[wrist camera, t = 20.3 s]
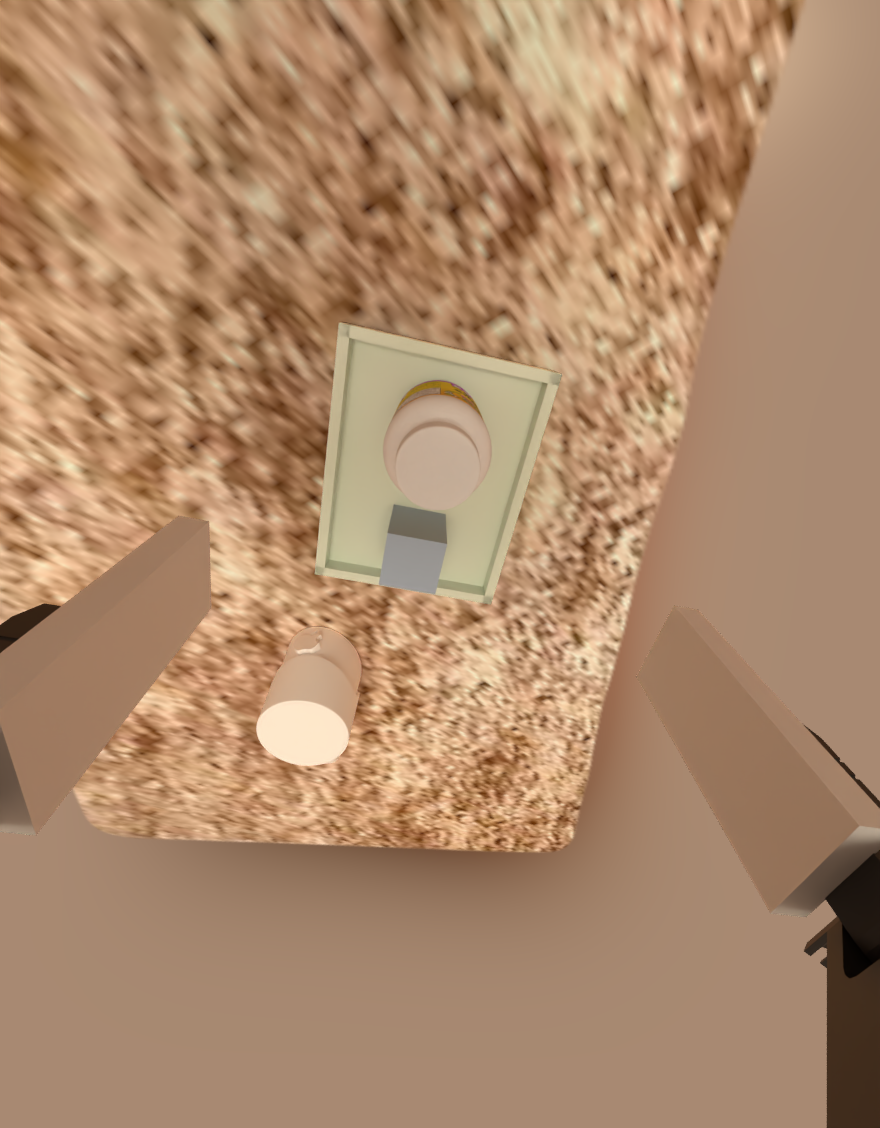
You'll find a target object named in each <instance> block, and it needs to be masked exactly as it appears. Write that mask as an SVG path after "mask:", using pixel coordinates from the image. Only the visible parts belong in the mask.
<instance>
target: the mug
mask: <svg viewBox="0 0 880 1128" xmlns="http://www.w3.org/2000/svg"><path fill="white" fill-rule="evenodd" d="M361 674H362V666H361V661H360V657H359V655H358V653H357V651H356V649H355V647H354V646H353V645H352V643H351V642H350V641H349V640H348V639H347V638H346V637H344V636H343V635H342V634H340V633H338V632H337V631H335V630H332V629H329V628H326V627H309V628H306V629H303V630H301V631H300V632H298V633H297V634H296V635H295V636H294V637H293V639H292V640H291V642H290V644H289V647H288V650H287V653H286V655H285V658H284V661H283V664H282V666H281V667H280V668H279V669H278V671H277V672H276V674H275V676H274V679H273V681H272V684H271V687H270V689H269V692H268V695H267V697H266V700H265V703H264V705H263V708H262V711H261V713H260V716H259V719H258V722H257V727H256V730H257V736H258V738H259V741H260V742H261V744H262V745H263V747H264V748H265V749H266V750H267V751H268V752H270V753H271V754H272V755H274V756H275V757H277V758H279V759H281V760H283V761H286V762H288V763H292V764H296V765H305V766H312V765H320V764H327V763H334V762H336V761H337V760H338V759H339V757H340V755H341V754H342V753H343V751H344V750H345V749H346V747H347V745H348V741H349V737H350V733H351V729H352V724H353V720H354V716H355V712H356V708H357V704H358V699H359V695H360V692H358V691H357V690H358V686H359V683H360V679H361Z"/></svg>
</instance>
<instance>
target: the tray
mask: <svg viewBox="0 0 880 1128" xmlns="http://www.w3.org/2000/svg"><path fill="white" fill-rule="evenodd" d="M561 377H562V374H561V373H558V372H556V371H552V370H548V369H544V368H539V367H535V366H531V365H526V364H522V363H518V362H513V361H509V360H505V359H501V358H496V357H492V356H488V355H483V354H479V353H475V352H470V351H466V350H462V349H457V348H453V347H449V346H444V345H440V344H436V343H432V342H427V341H423V340H419V339H414V338H410V337H406V336H401V335H397V334H393V333H388V332H384V331H380V330H376V329H371V328H367V327H363V326H358V325H354V324H350V323H345V322H339V326H338V336H337V347H336V357H335V368H334V378H333V388H332V399H331V409H330V420H329V430H328V440H327V451H326V461H325V472H324V482H323V492H322V503H321V513H320V524H319V534H318V545H317V555H316V565H315V574H317V575H323V576H329V577H334V578H340V579H346V580H352V581H358V582H363V583H369V584H375V585H379V580H380V574H381V568H382V562H383V556H384V551H385V545H386V539H387V533H388V528H389V524H390V519H391V515H392V510H393V505H394V504H395V505H400V506H406V507H411V508H416V509H421V510H426V511H432V512H437V513H442V514H445V515H446V532H447V547H446V551H445V556H444V560H443V564H442V568H441V572H440V576H439V581H438V585H437V589H436V593H435V594H433V595H439V596H444V597H450V598H456V599H462V600H468V601H473V602H479V603H485V604H491V603H492V599H493V596H494V593H495V590H496V587H497V583H498V580H499V577H500V574H501V570H502V567H503V564H504V561H505V557H506V554H507V551H508V548H509V545H510V541H511V538H512V535H513V532H514V528H515V525H516V522H517V519H518V515H519V512H520V509H521V506H522V503H523V499H524V496H525V493H526V490H527V486H528V483H529V480H530V477H531V473H532V470H533V467H534V464H535V461H536V457H537V454H538V451H539V448H540V444H541V441H542V438H543V435H544V432H545V428H546V425H547V422H548V419H549V415H550V412H551V409H552V406H553V402H554V399H555V396H556V393H557V390H558V386H559V383H560V380H561ZM431 380H445V381H449V382H452V383H454V384H456V385H458V386H460V387H462V388H463V389H464V390H465V391H466V392H468V394H469V395H470V396H471V397H472V398H473V400H474V401H475V403H476V405H477V407H478V409H479V411H480V413H481V415H482V418H483V420H484V423H485V425H486V427H487V429H488V432H489V435H490V439H491V446H492V456H491V462H490V466H489V469H488V472H487V474H486V476H485V478H484V480H483V481H482V483H481V484H480V485H479V487H478V488H477V489H476V490H475V491H474V492H473V493H472V494H471V495H470V496H469V497H468V498H467V499H466V500H465V501H464V502H462V503H461V504H459V505H457V506H455V507H453V508H450V509H446V510H429V509H425V508H422V507H420V506H418V505H416V504H414V503H413V502H411V501H410V500H409V499H408V498H407V497H406V496H405V495H404V494H403V493H402V492H401V491H400V490H399V489H398V488H397V487H396V486H395V484H394V483H393V482H392V480H391V478H390V476H389V475H388V472H387V470H386V467H385V463H384V457H383V444H384V438H385V435H386V432H387V429H388V426H389V424H390V422H391V420H392V418H393V416H394V414H395V412H396V409H397V407H398V405H399V403H400V402H401V400H402V398H403V397H404V396H405V395H406V394H407V392H409V391H410V390H411V389H412V388H414V387H415V386H417V385H419V384H421V383H423V382H426V381H431ZM381 586H383V585H381ZM387 587H389V586H387ZM392 588H395V587H392ZM398 589H400V588H398ZM404 590H406V589H404ZM410 591H412V590H410ZM416 592H418V591H416ZM421 593H424V592H421ZM427 594H429V593H427Z"/></svg>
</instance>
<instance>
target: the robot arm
mask: <svg viewBox="0 0 880 1128" xmlns="http://www.w3.org/2000/svg"><path fill="white" fill-rule="evenodd" d="M210 609H211V579H210V537H209V521H204V520H199V519H193V518H188V517H182V516H178V517H176V518H175V519H174V520H173V521H171V522H170V523H169V524H167V525H166V526H165V527H164V528H162V529H161V530H160V531H158V532H157V533H156V534H154V535H153V536H152V537H151V538H149V539H148V540H147V541H145V542H144V543H143V544H141V545H140V546H139V547H138V548H136V549H135V550H134V551H132V552H131V553H130V554H128V555H127V556H126V557H125V558H123V559H122V560H121V561H119V562H118V563H117V564H115V565H114V566H113V567H112V568H110V569H109V570H108V571H106V572H105V573H104V574H102V575H101V576H100V577H99V578H97V579H96V580H95V581H93V582H92V583H91V584H89V585H88V586H87V587H86V588H84V589H83V590H82V591H80V592H79V593H78V594H76V595H75V596H74V597H73V598H71V599H70V600H69V601H67V602H66V603H65V604H63V605H62V606H57V605H50V604H42V605H39V606H37V607H35V608H32V609H30V610H27V611H25V612H22V613H20V614H17V615H15V616H12V617H11V618H9V619H8V620H7V621H5V622H4V623H2V624H1V625H0V832H8V833H18V834H28V835H37V834H38V832H39V831H40V830H41V828H42V827H43V826H44V825H45V823H46V822H47V821H48V819H49V818H50V817H51V815H52V814H53V813H54V812H55V810H56V809H57V808H58V806H59V805H60V804H61V802H62V801H63V800H64V798H65V797H66V796H67V795H68V793H69V792H70V791H71V790H72V788H73V787H74V786H75V784H76V783H77V782H78V780H79V779H80V778H81V777H82V775H83V774H84V773H85V771H86V770H87V769H88V767H89V766H90V765H91V764H92V762H93V761H94V760H95V758H96V757H97V756H98V755H99V753H100V752H101V751H102V749H103V748H104V747H105V745H106V744H107V743H108V742H109V740H110V739H111V738H112V736H113V735H114V734H115V732H116V731H117V730H118V729H119V727H120V726H121V725H122V723H123V722H124V721H125V719H126V718H127V717H128V716H129V714H130V713H131V712H132V710H133V709H134V708H135V706H136V705H137V704H138V703H139V701H140V700H141V699H142V697H143V696H144V695H145V694H146V692H147V691H148V690H149V688H150V687H151V686H152V684H153V683H154V682H155V681H156V679H157V678H158V677H159V675H160V674H161V673H162V671H163V670H164V669H165V668H166V666H167V665H168V664H169V662H170V661H171V660H172V658H173V657H174V656H175V655H176V653H177V652H178V651H179V649H180V648H181V647H182V645H183V644H184V643H185V642H186V640H187V639H188V638H189V636H190V635H191V634H192V633H193V631H194V630H195V629H196V627H197V626H198V625H199V623H200V622H201V621H202V620H203V618H204V617H205V616H206V614H207V613H208V612H209V610H210ZM636 677H637V679H638V681H639V682H640V684H641V686H642V688H643V689H644V691H645V693H646V695H647V696H648V698H649V700H650V702H651V704H652V705H653V707H654V709H655V711H656V712H657V714H658V716H659V718H660V719H661V721H662V723H663V725H664V727H665V728H666V730H667V732H668V733H669V735H670V737H671V739H672V741H673V742H674V744H675V746H676V747H677V749H678V751H679V753H680V755H681V756H682V758H683V760H684V762H685V763H686V765H687V767H688V769H689V770H690V772H691V774H692V776H693V778H694V779H695V781H696V783H697V785H698V786H699V788H700V790H701V792H702V794H703V795H704V797H705V799H706V801H707V802H708V804H709V806H710V808H711V809H712V811H713V813H714V815H715V816H716V818H717V820H718V822H719V824H720V825H721V827H722V829H723V830H724V832H725V834H726V836H727V838H728V839H729V841H730V843H731V845H732V846H733V848H734V850H735V852H736V853H737V855H738V857H739V859H740V861H741V862H742V864H743V866H744V868H745V869H746V871H747V873H748V874H749V876H750V878H751V880H752V882H753V883H754V885H755V887H756V889H757V890H758V892H759V894H760V896H761V897H762V899H763V901H764V903H765V905H766V906H767V908H768V910H769V911H770V913H772V914H781V915H791V916H800V917H807V916H808V915H809V914H810V913H811V912H812V911H814V910H815V908H817V907H818V906H819V905H820V904H821V903H822V902H823V901H824V900H827V902H828V903H829V905H830V906H831V907H832V909H833V910H834V912H835V913H836V915H837V917H836V918H835V919H834V920H833V921H832V922H830V923H829V924H828V925H827V926H826V927H825V928H824V929H822V930H821V931H820V932H819V933H818V934H817V935H815V936H814V937H813V938H812V939H811V940H810V941H809V942H807V944H806V947H805V950H804V952H806V953H807V954H808V955H810V956H811V955H812V954H813V953H815V952H816V951H817V950H818V949H820V948H821V947H824V948H827V957H826V958H824V959H823V960H822V961H821V962H820V963H821V964H822V965H823V966H825V967H826V968H827V1128H880V801H879V800H878V799H877V798H876V797H875V796H874V795H873V794H872V793H871V792H870V791H869V789H868V788H867V787H866V786H865V785H864V784H863V783H862V782H861V781H860V780H858V779H856V778H855V774H854V773H853V772H852V771H851V770H850V769H849V768H848V767H847V766H846V765H845V763H842V762H840V758H839V757H838V756H837V755H836V754H835V753H834V752H833V750H832V749H831V748H830V747H829V746H828V745H827V744H826V743H825V742H824V741H823V740H822V739H821V738H820V737H819V736H818V735H816V734H815V733H814V732H812V731H811V730H810V729H808V728H807V727H806V726H805V725H803V724H802V723H801V722H800V721H799V720H798V719H797V717H796V716H795V715H794V714H793V713H792V712H791V711H790V710H789V709H788V708H787V706H786V705H784V703H783V702H782V701H781V700H780V699H779V698H778V697H777V696H776V694H775V693H774V692H773V691H772V690H771V689H770V688H769V687H768V686H767V685H766V683H765V682H764V681H763V680H762V679H761V678H760V677H759V676H758V675H757V674H756V672H754V670H753V669H752V668H751V667H750V666H749V665H748V664H747V663H746V661H744V659H743V658H742V657H741V656H740V655H739V654H738V653H737V652H736V651H735V649H733V647H732V646H731V645H730V644H729V643H728V642H727V641H726V640H725V638H723V636H722V635H721V634H720V633H719V632H718V631H717V630H716V629H715V628H714V626H713V625H712V624H711V623H710V622H709V621H708V620H707V619H706V618H705V617H704V615H702V613H701V612H700V611H699V610H698V609H692V608H687V607H681V606H675V605H674V606H673V608H672V610H671V612H670V614H669V616H668V618H667V619H666V621H665V623H664V625H663V627H662V629H661V631H660V633H659V635H658V636H657V638H656V640H655V642H654V644H653V646H652V648H651V650H650V652H649V654H648V656H647V657H646V659H645V661H644V663H643V665H642V667H641V669H640V671H639V673H638V674H637V676H636Z"/></svg>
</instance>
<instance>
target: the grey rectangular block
mask: <svg viewBox="0 0 880 1128" xmlns="http://www.w3.org/2000/svg"><path fill="white" fill-rule="evenodd" d="M446 547H447V532H446V515H445V514H442V513H437V512H432V511H426V510H421V509H416V508H411V507H406V506H400V505H395V504H394V505H393V510H392V515H391V519H390V524H389V528H388V533H387V539H386V545H385V551H384V556H383V562H382V568H381V574H380V580H379V585H383V586H389V587H395V588H400V589H406V590H412V591H418V592H424V593H429V594H435V593H436V589H437V585H438V581H439V576H440V572H441V568H442V564H443V560H444V556H445V551H446Z"/></svg>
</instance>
